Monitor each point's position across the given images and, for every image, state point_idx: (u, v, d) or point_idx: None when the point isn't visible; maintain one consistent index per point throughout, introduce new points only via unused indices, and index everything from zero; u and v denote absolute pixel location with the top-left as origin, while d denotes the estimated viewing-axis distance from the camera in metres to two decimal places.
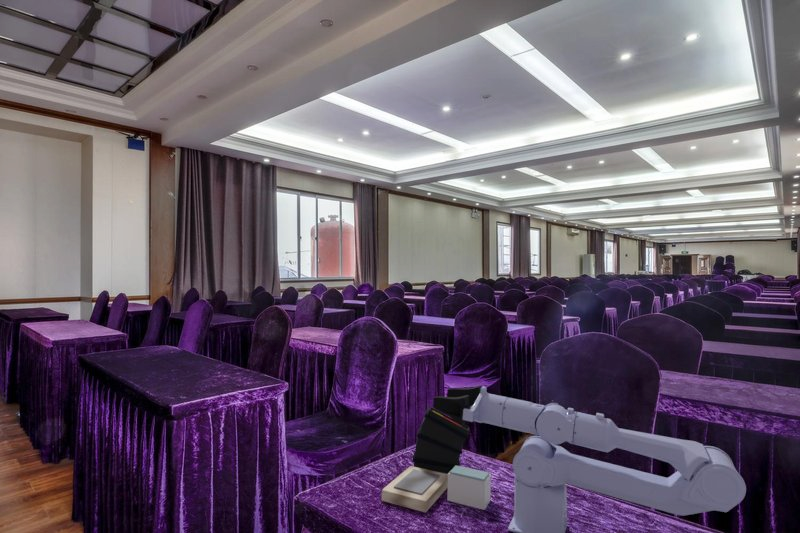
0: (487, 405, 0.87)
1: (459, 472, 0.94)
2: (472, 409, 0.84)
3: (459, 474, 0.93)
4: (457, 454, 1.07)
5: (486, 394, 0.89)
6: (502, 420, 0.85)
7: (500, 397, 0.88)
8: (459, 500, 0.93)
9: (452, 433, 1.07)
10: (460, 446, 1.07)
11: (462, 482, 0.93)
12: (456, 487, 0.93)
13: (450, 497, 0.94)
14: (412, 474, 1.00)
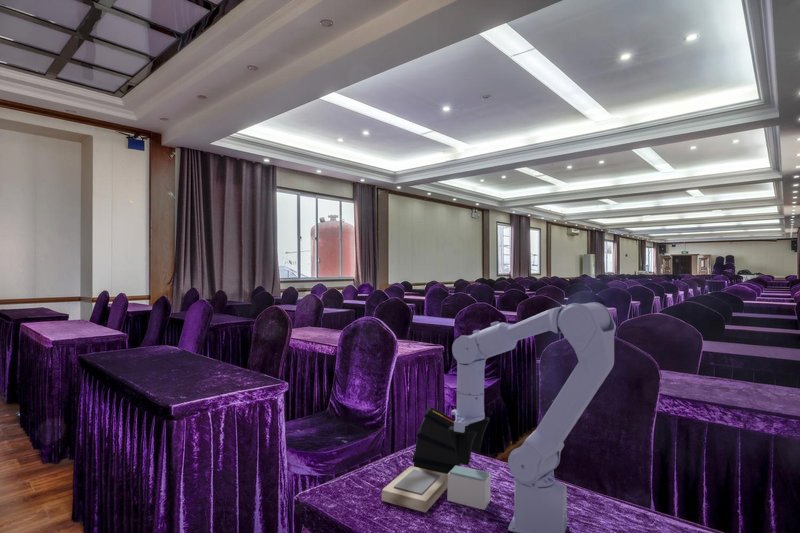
0: (460, 408, 0.93)
1: (459, 472, 0.94)
2: None
3: (459, 474, 0.93)
4: None
5: None
6: (470, 394, 0.92)
7: None
8: (459, 500, 0.93)
9: None
10: None
11: (462, 482, 0.93)
12: (456, 487, 0.93)
13: (450, 497, 0.94)
14: (412, 474, 1.00)
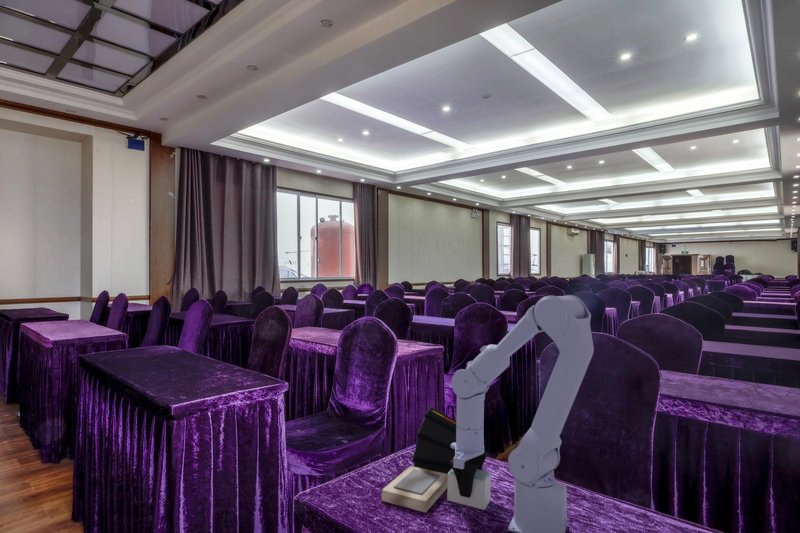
0: (460, 443, 0.93)
1: None
2: None
3: None
4: None
5: None
6: (470, 429, 0.92)
7: None
8: (459, 499, 0.93)
9: (452, 433, 1.07)
10: None
11: None
12: (456, 487, 0.93)
13: (450, 496, 0.94)
14: (412, 474, 1.00)
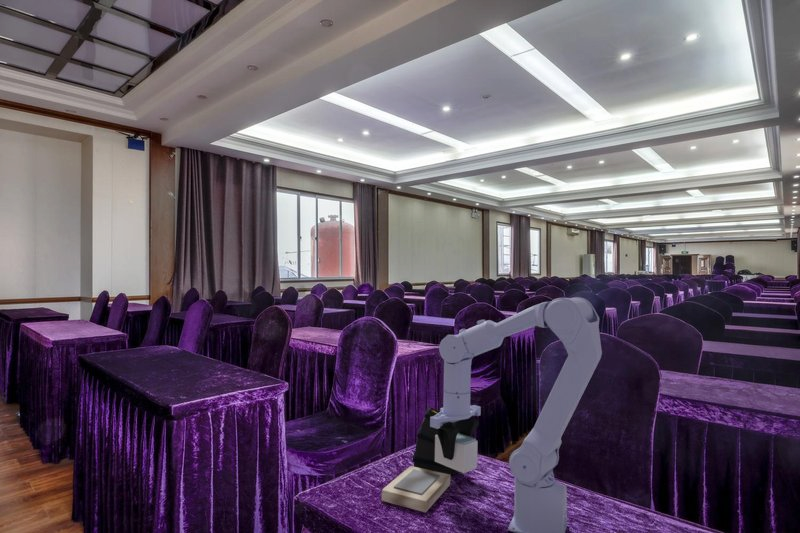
0: (444, 406, 0.95)
1: None
2: None
3: None
4: None
5: None
6: (452, 393, 0.93)
7: None
8: (444, 461, 0.95)
9: None
10: None
11: None
12: (441, 449, 0.95)
13: (437, 457, 0.96)
14: (412, 474, 1.00)
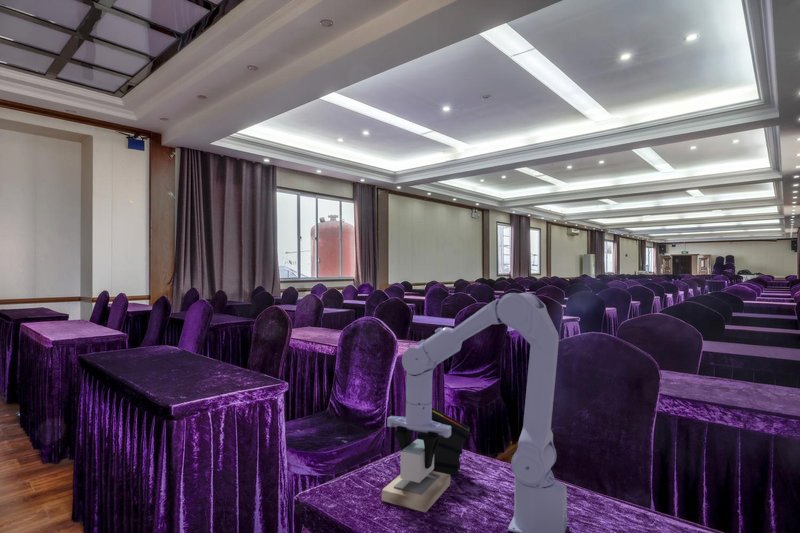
0: None
1: (416, 442, 1.00)
2: None
3: (413, 442, 1.00)
4: (457, 454, 1.07)
5: None
6: None
7: None
8: None
9: (453, 433, 1.07)
10: (460, 446, 1.07)
11: None
12: None
13: None
14: None
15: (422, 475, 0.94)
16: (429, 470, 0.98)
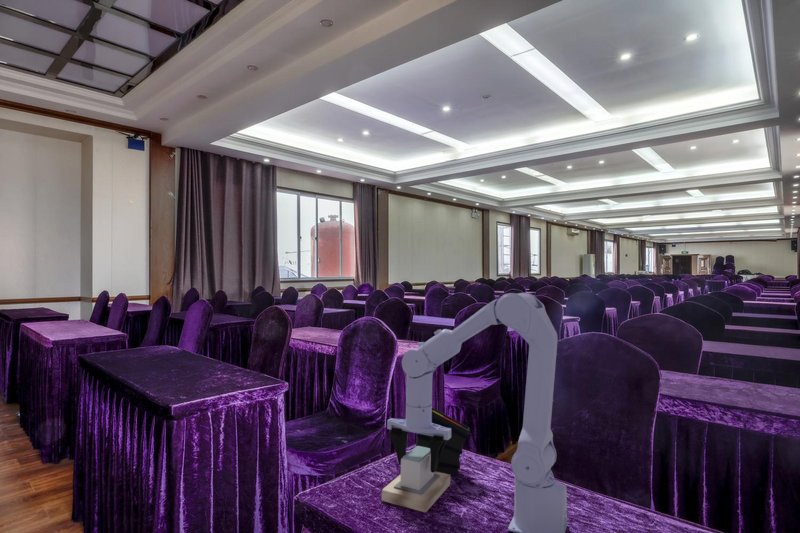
0: None
1: (416, 449, 1.00)
2: None
3: (413, 449, 1.00)
4: (457, 454, 1.07)
5: None
6: None
7: None
8: None
9: (453, 433, 1.07)
10: (460, 446, 1.07)
11: None
12: None
13: None
14: None
15: (422, 482, 0.94)
16: (429, 477, 0.98)
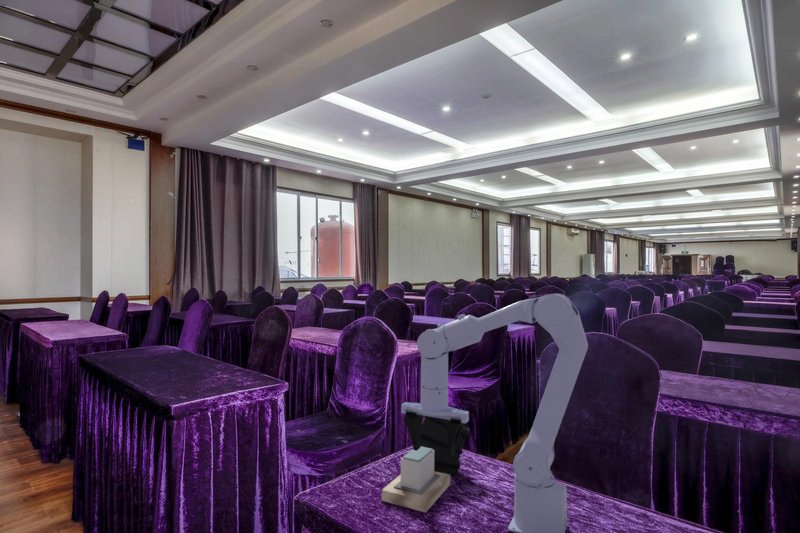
0: None
1: None
2: None
3: (413, 449, 1.00)
4: (457, 454, 1.07)
5: None
6: None
7: None
8: None
9: None
10: (460, 446, 1.07)
11: None
12: None
13: None
14: None
15: (422, 482, 0.94)
16: (429, 477, 0.98)
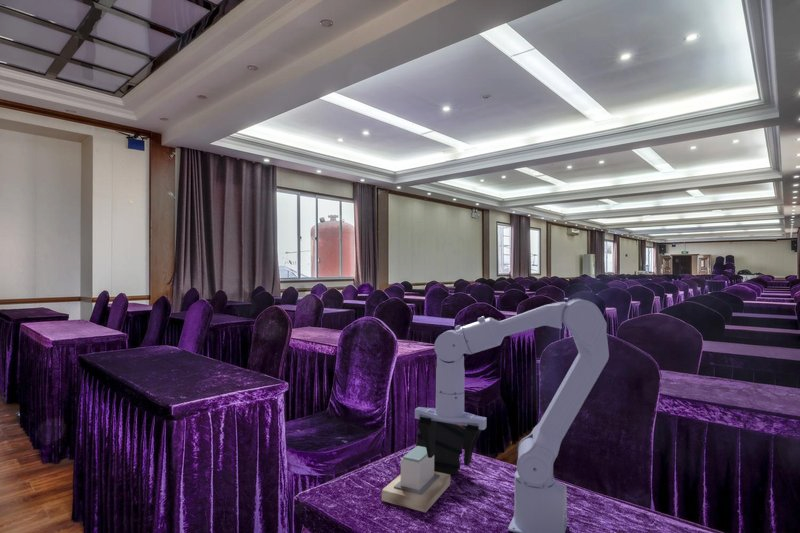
0: None
1: (416, 449, 1.00)
2: None
3: (413, 449, 1.00)
4: (457, 454, 1.07)
5: None
6: None
7: None
8: None
9: (452, 433, 1.07)
10: (460, 446, 1.07)
11: None
12: None
13: None
14: None
15: (422, 482, 0.94)
16: (429, 477, 0.98)
